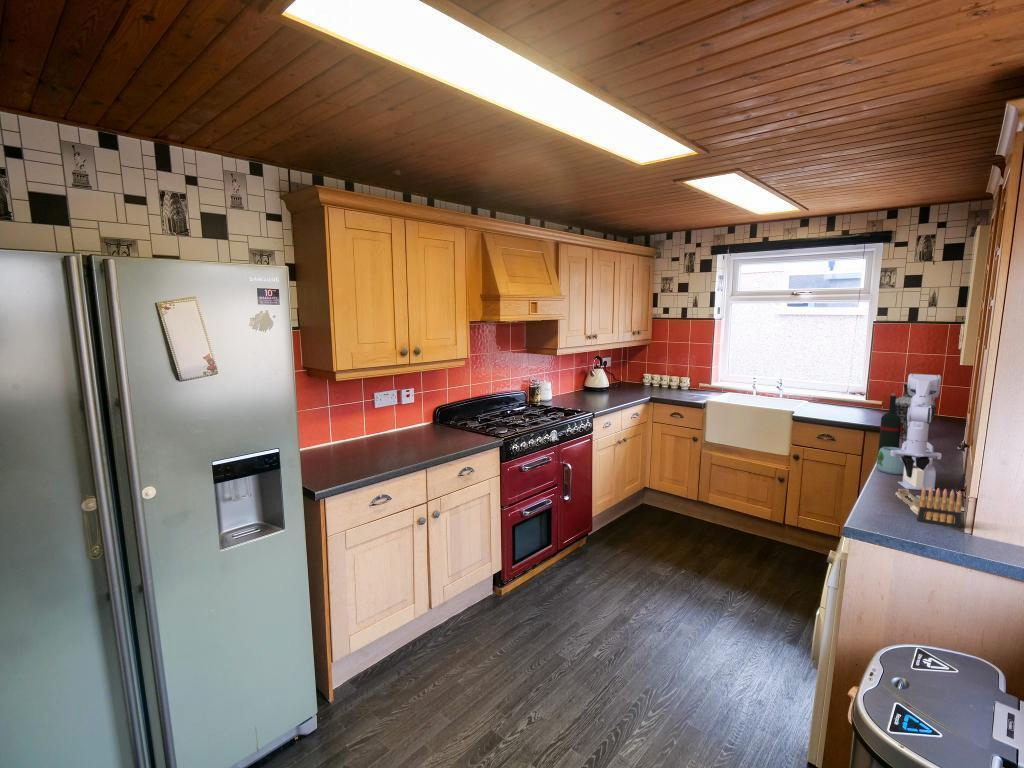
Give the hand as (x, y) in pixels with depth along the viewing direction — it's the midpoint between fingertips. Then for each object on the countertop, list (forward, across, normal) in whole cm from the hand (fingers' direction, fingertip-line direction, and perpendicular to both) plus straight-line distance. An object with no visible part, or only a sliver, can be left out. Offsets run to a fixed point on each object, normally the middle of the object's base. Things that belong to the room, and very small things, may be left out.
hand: (913, 476), depth 183 cm
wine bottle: (+10, +17, +66) cm, 69 cm away
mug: (+10, +7, +41) cm, 43 cm away
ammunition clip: (+10, 0, -20) cm, 22 cm away
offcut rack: (+9, 0, -3) cm, 10 cm away
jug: (+10, +40, +108) cm, 116 cm away
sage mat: (+9, +9, 0) cm, 13 cm away
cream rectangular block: (+2, 0, 0) cm, 2 cm away
